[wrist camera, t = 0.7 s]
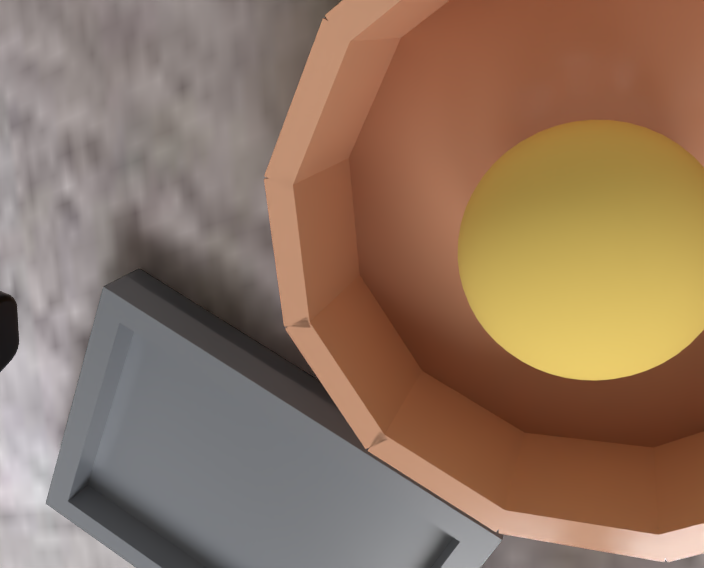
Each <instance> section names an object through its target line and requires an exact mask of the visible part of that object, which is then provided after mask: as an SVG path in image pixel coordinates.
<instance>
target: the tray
mask: <svg viewBox="0 0 704 568" xmlns="http://www.w3.org/2000/svg"><path fill="white" fill-rule="evenodd" d="M368 449H369V448H367V449H365V447H364V446H363V445H362V443H361V442H360V440H359V439H358V437H357V436H356V434H355V433H354V431H353V430H352V428H351V427H350V425H349V424H348V422H347V421H346V419H345V418H344V416H343V415H342V413H341V412H340V410H339V409H338V407H337V406H336V404H335V403H334V401H333V400H332V398H331V397H330V395H329V394H328V392H327V391H326V389H325V388H324V386H323V385H322V383H321V382H320V381H319V380H317V379H315V378H314V377H312V376H311V375H309V374H307V373H306V372H304V371H302V370H301V369H299V368H298V367H296V366H294V365H293V364H291V363H290V362H288V361H286V360H285V359H283V358H282V357H280V356H278V355H277V354H275V353H274V352H272V351H270V350H269V349H267V348H266V347H264V346H262V345H261V344H259V343H258V342H256V341H254V340H253V339H251V338H250V337H248V336H246V335H245V334H243V333H242V332H240V331H238V330H237V329H235V328H234V327H232V326H230V325H229V324H227V323H226V322H224V321H222V320H221V319H219V318H217V317H216V316H214V315H213V314H211V313H209V312H208V311H206V310H205V309H203V308H201V307H200V306H198V305H197V304H195V303H193V302H192V301H190V300H189V299H187V298H185V297H184V296H182V295H181V294H179V293H177V292H176V291H174V290H173V289H171V288H169V287H168V286H166V285H165V284H163V283H161V282H160V281H158V280H157V279H155V278H153V277H152V276H150V275H149V274H147V273H145V272H144V271H142V270H141V269H137V270H135V271H133V272H131V273H129V274H127V275H125V276H124V277H122V278H120V279H118V280H116V281H114V282H112V283H110V284H108V285H106V286H104V287H103V290H102V294H101V297H100V301H99V305H98V309H97V312H96V316H95V320H94V324H93V327H92V331H91V335H90V339H89V342H88V346H87V350H86V354H85V357H84V361H83V365H82V369H81V372H80V376H79V380H78V384H77V387H76V391H75V395H74V399H73V402H72V406H71V410H70V414H69V417H68V421H67V425H66V429H65V432H64V436H63V440H62V444H61V448H60V451H59V455H58V459H57V463H56V466H55V470H54V474H53V478H52V481H51V485H50V489H49V493H48V496H47V500H46V504H47V505H49V506H50V507H51V508H53V509H54V510H56V511H57V512H58V513H60V514H61V515H63V516H64V517H65V518H67V519H68V520H70V521H71V522H72V523H74V524H75V525H77V526H78V527H80V528H81V529H82V530H84V531H85V532H87V533H88V534H89V535H91V536H92V537H94V538H95V539H96V540H98V541H99V542H101V543H102V544H103V545H105V546H106V547H108V548H109V549H111V550H112V551H113V552H115V553H116V554H118V555H119V556H120V557H122V558H123V559H125V560H126V561H127V562H129V563H130V564H132V565H133V566H134V567H136V568H480V567H481V566H482V565H483V564H484V562H485V561H486V560H487V559H488V557H489V556H490V555H491V554H492V552H493V551H494V550H495V549H496V547H497V546H498V545H499V543H500V542H501V541H502V539H503V535H504V534H499V529H498V530H497V532H495V531H493V530H491V529H490V528H488V527H487V526H485V525H484V524H482V523H480V522H479V521H477V520H476V519H474V518H472V517H471V516H469V515H468V514H466V513H465V512H463V511H461V510H460V509H458V508H457V507H455V506H454V505H452V504H450V503H449V502H447V501H446V500H444V499H443V498H441V497H439V496H438V495H436V494H435V493H433V492H432V491H430V490H428V489H427V488H425V487H424V486H422V485H420V484H419V483H417V482H416V481H414V480H413V479H411V478H409V477H408V476H406V475H405V474H403V473H402V472H400V471H398V470H397V469H395V468H394V467H392V466H391V465H389V464H387V463H386V462H384V461H383V460H381V459H379V458H378V457H376V456H375V455H373V454H372V453H370V452H368Z"/></svg>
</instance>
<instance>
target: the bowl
mask: <svg viewBox="0 0 704 568" xmlns="http://www.w3.org/2000/svg"><path fill="white" fill-rule="evenodd" d="M325 16H326V18H323V19H322V22H321V25H320V27H319V30H318V33H317V35H316V38H315V41H314V43H313V46H312V49H311V52H310V54H309V57H308V60H307V62H306V65H305V68H304V70H303V73H302V76H301V78H300V81H299V84H298V86H297V89H296V92H295V95H294V97H293V100H292V103H291V105H290V108H289V111H288V113H287V116H286V119H285V121H284V124H283V127H282V129H281V132H280V135H279V138H278V140H277V143H276V146H275V148H274V151H273V154H272V156H271V159H270V162H269V164H268V167H267V170H266V172H265V175H264V176H265V177H267V178H265V179H264V183H265V190H266V198H267V205H268V212H269V220H270V227H271V235H272V242H273V249H274V257H275V264H276V271H277V279H278V286H279V293H280V301H281V308H282V315H283V323H284V326H287V327H286V328H285V330H286V331H287V333H288V334H289V336H290V337H291V339H292V340H293V342H294V343H295V345H296V346H297V348H298V349H299V351H300V352H301V354H302V355H303V356H304V358H305V359H306V361H307V362H308V364H309V365H310V367H311V368H312V370H313V371H314V373H315V374H316V376H317V377H318V379H319V380H320V382H321V383H322V385H323V386H324V388H325V389H326V391H327V392H328V394H329V395H330V397H331V398H332V400H333V401H334V403H335V404H336V406H337V407H338V409H339V410H340V412H341V413H342V415H343V416H344V418H345V419H346V421H347V422H348V424H349V425H350V427H351V428H352V430H353V431H354V433H355V434H356V436H357V437H358V439H359V440H360V442H361V443H362V445H363V446H364V447H365V449H367V448H369V449H368V452H370V453H372V454H373V455H375V456H376V457H378V458H379V459H381V460H383V461H384V462H386V463H387V464H389V465H391V466H392V467H394V468H395V469H397V470H398V471H400V472H402V473H403V474H405V475H406V476H408V477H409V478H411V479H413V480H414V481H416V482H417V483H419V484H420V485H422V486H424V487H425V488H427V489H428V490H430V491H432V492H433V493H435V494H436V495H438V496H439V497H441V498H443V499H444V500H446V501H447V502H449V503H450V504H452V505H454V506H455V507H457V508H458V509H460V510H461V511H463V512H465V513H466V514H468V515H469V516H471V517H472V518H474V519H476V520H477V521H479V522H480V523H482V524H484V525H485V526H487V527H488V528H490V529H491V530H493V531H495V532H497V530H498V529H499V534H505V535H510V536H516V537H522V538H528V539H533V540H539V541H545V542H551V543H557V544H562V545H568V546H574V547H580V548H585V549H591V550H597V551H603V552H608V553H614V554H620V555H626V556H631V557H637V558H643V559H649V560H654V561H660V562H664V561H665V559H666V560H667V562H671V561H675V560H679V559H683V558H687V557H692V556H696V555H700V554H704V330H703V331H702V332H701V333H700V334H699V335H698V336H697V337H696V338H695V339H694V341H693V342H692V343H691V344H689V345H688V346H687V347H686V348H685V349H683V350H682V351H681V352H680V353H678V354H677V355H675V356H674V357H672V358H671V359H669V360H667V361H666V362H664V363H662V364H660V365H658V366H656V367H654V368H651V369H649V370H647V371H644V372H641V373H638V374H634V375H631V376H626V377H621V378H616V379H608V380H577V379H570V378H564V377H560V376H556V375H552V374H549V373H546V372H544V371H541V370H538V369H536V368H534V367H532V366H530V365H528V364H526V363H524V362H522V361H521V360H519V359H518V358H516V357H515V356H513V355H512V354H510V353H509V352H507V351H506V350H505V349H504V348H503V347H501V346H500V345H499V344H498V343H497V342H496V341H495V340H494V339H493V338H492V337H491V336H490V335H489V334H488V333H487V332H486V331H485V329H484V328H483V326H482V325H481V324H480V322H479V321H478V320H477V318H476V316H475V314H474V312H473V311H472V309H471V307H470V305H469V302H468V300H467V297H466V295H465V292H464V290H463V286H462V282H461V278H460V274H459V267H458V238H459V232H460V226H461V221H462V218H463V215H464V211H465V208H466V206H467V204H468V202H469V200H470V197H471V195H472V193H473V191H474V190H475V188H476V187H477V185H478V183H479V182H480V180H481V179H482V177H483V176H484V175H485V173H486V172H487V171H488V170H489V169H490V167H491V166H492V165H493V164H494V163H495V162H496V161H497V160H498V159H499V158H500V157H501V156H503V155H504V154H505V153H506V152H507V151H508V150H510V149H511V148H513V147H514V146H516V145H517V144H518V143H520V142H521V141H523V140H525V139H527V138H529V137H531V136H533V135H534V134H536V133H538V132H541V131H543V130H546V129H549V128H551V127H554V126H557V125H561V124H565V123H570V122H575V121H584V120H613V121H620V122H627V123H631V124H635V125H638V126H642V127H646V128H648V129H650V130H653V131H655V132H657V133H660V134H662V135H664V136H666V137H667V138H669V139H671V140H672V141H674V142H676V143H677V144H679V145H680V146H681V147H683V148H684V149H685V150H686V151H688V152H689V153H690V154H691V155H692V156H694V157H695V158H696V159H697V160H698V162H699V163H700V164H701V165H702V166H703V167H704V0H342V1H341V2H340V3H339V4H338V5H336V6H335V7H334V8H333V9H332V10H331V11H329V12H328V13H327V14H326V15H325Z"/></svg>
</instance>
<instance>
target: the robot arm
mask: <svg viewBox="0 0 704 568" xmlns="http://www.w3.org/2000/svg"><path fill="white" fill-rule="evenodd" d="M18 345H19V331H18V314H17V304H16V301H15V300H14V298H13V297H12V296H11V295H9V294H6V293H4V292H2V291H0V372H1V371H2V370H3V369H4V368H5V366H6V365H7V364H8V363H9V362H10V361H11V360H12V358H13V357H14V355H15V354H16V352H17V349H18Z"/></svg>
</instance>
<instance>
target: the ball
mask: <svg viewBox="0 0 704 568" xmlns="http://www.w3.org/2000/svg"><path fill="white" fill-rule="evenodd" d="M458 267H459V274H460V278H461V282H462V286H463V290H464V292H465V295H466V297H467V300H468V302H469V305H470V307H471V309H472V311H473V312H474V314H475V316H476V318H477V320H478V321H479V322H480V324H481V325H482V326H483V328H484V329H485V331H486V332H487V333H488V334H489V335H490V336H491V337H492V338H493V339H494V340H495V341H496V342H497V343H498V344H499V345H500V346H501V347H503V348H504V349H505V350H506V351H507V352H509V353H510V354H512V355H513V356H515V357H516V358H518V359H519V360H521V361H522V362H524V363H526V364H528V365H530V366H532V367H534V368H536V369H538V370H541V371H544V372H546V373H549V374H552V375H556V376H560V377H564V378H570V379H577V380H608V379H616V378H621V377H626V376H631V375H634V374H638V373H641V372H644V371H647V370H649V369H651V368H654V367H656V366H658V365H660V364H662V363H664V362H666V361H667V360H669V359H671V358H672V357H674V356H675V355H677V354H678V353H680V352H681V351H682V350H683V349H685V348H686V347H687V346H688V345H689V344H691V343H692V342H693V341H694V339H695V338H696V337H697V336H698V335H699V334H700V333H701V332H702V331H703V330H704V167H703V166H702V165H701V164H700V163H699V162H698V160H697V159H696V158H695V157H694V156H692V155H691V154H690V153H689V152H688V151H686V150H685V149H684V148H683V147H681V146H680V145H679V144H677V143H676V142H674V141H672V140H671V139H669V138H667V137H666V136H664V135H662V134H660V133H657V132H655V131H653V130H650V129H648V128H646V127H642V126H638V125H635V124H631V123H627V122H620V121H613V120H584V121H575V122H570V123H565V124H561V125H557V126H554V127H551V128H549V129H546V130H543V131H541V132H538V133H536V134H534V135H533V136H531V137H529V138H527V139H525V140H523V141H521V142H520V143H518V144H517V145H516V146H514V147H513V148H511V149H510V150H508V151H507V152H506V153H505V154H504V155H503V156H501V157H500V158H499V159H498V160H497V161H496V162H495V163H494V164H493V165H492V166H491V167H490V169H489V170H488V171H487V172H486V173H485V175H484V176H483V177H482V179H481V180H480V182H479V183H478V185H477V187H476V188H475V190H474V191H473V193H472V195H471V197H470V200H469V202H468V204H467V206H466V208H465V211H464V215H463V218H462V221H461V226H460V232H459V238H458Z"/></svg>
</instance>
